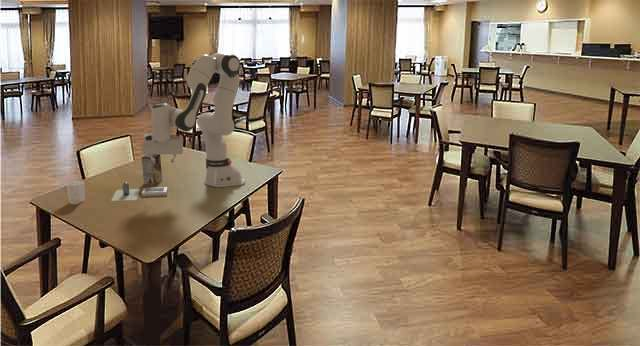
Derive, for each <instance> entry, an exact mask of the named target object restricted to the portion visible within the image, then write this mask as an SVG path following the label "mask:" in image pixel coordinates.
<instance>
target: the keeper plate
mask: <svg viewBox="0 0 640 346" xmlns="http://www.w3.org/2000/svg"><path fill="white" fill-rule="evenodd" d="M141 189H142V188H129V195H127V196H124V195H123V189H117V190H116V191H115V192H114V194H113V196H112V198H111V200H110V202H116V201H117V202H118V201H137V200H138V197H139V194H140V192H141Z"/></svg>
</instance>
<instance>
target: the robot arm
mask: <svg viewBox="0 0 640 346" xmlns="http://www.w3.org/2000/svg"><path fill="white" fill-rule="evenodd" d="M240 67H241V63H240V59H239V57H238V56H237V55H236V54H232V53H227V52H211V53H210V54H202V55H200V56H199V57H198V58H197V59H196V60H195V62H194V63H193V65H192V66H191V69H190V70H189V71H188V74H187V76H186V84H187V86H188V88H189V89H191V96H190V98H189V100H188V103H187V106H186V107H185V109H180V108H176V107H174V106H171V105H169V104H168V103H166V102H160V103H156V104H154V105H152V106H151V107H152V108H151V116H150V119H151V123H152V124H151V125H152V128H151V132H148V133H145V134H144V135H143V137H142V139H143V141H142V142H141V146H140V147H141V153H140V154H142V155H144V156H146V155H148V154H149V157H150V158H151V160H152V163H155V159H153V157H152V154H160V155H172V156H173V157H171V159H170V161H171V163H175V159H176V157H177V155H183V153H184V145H183V144H184V138H183V137H182V136H181V135H172V134H171V133H172V132H171V131H172V130H171V128H176V129H178V130H181V131H182V132H189V131H192V130H193V129H194V128H196V125H197V126H198V127H199V129H200V130H201V131H200V132H201V134H202V136H203V139H204V143H205V144H204V145H205V154H206V158H205V168H206V171H205V173H206V174H205V179H204V185H206V186H208V187H209V186H210V187H214V188H224V187H233V186H234V187H235V186H244V185H245V183H246V179H245V178H244V177H242V175H241V171H240V170H239V169H238V168H237V167H235V166H234V165H232V160H231V158H230V157H227V156H228V155H227V150H228V149H227V143H226V142H225V140H224V138H223V136H224V137H225V136H230V135H231V134H232V133H234V129H235V123H234V119H233V108H234V103H235V100H236V97H237V95H238V91H239V87H240V86H239V85H240V82H241V81H240V80H241V77H240V75H239V72H240ZM215 73H217V74H219V82H218V84H217V87H216V89H215V92H214V95H213V98H212V102H213V105H214V112H203V113H201V114H200V115H199V113H200V109H201V107H202V105H203V103H204V101H205V98H206V95H207V89H208V85H209V84H210V82H211V79H212V77H213V75H214V74H215Z"/></svg>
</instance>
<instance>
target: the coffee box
mask: <svg viewBox="0 0 640 346" xmlns="http://www.w3.org/2000/svg"><path fill="white" fill-rule="evenodd" d="M152 157H153V159H155V163H152V160H151V158H150V157H149V154H147V155H144V156H142V157H141V164H142V165H141V166H142V177H143V184H144V185H156V184H158V183H163V176H162V175H163V174H162V164H161V163H162V162H161V161H162V160H161V154H152Z"/></svg>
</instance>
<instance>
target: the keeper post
mask: <svg viewBox="0 0 640 346" xmlns="http://www.w3.org/2000/svg"><path fill="white" fill-rule="evenodd" d="M121 187H122V190H123V195H124V196H127V195H129V189H130V183H128V182H127V181H126V182H123V183H122V186H121Z"/></svg>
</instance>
